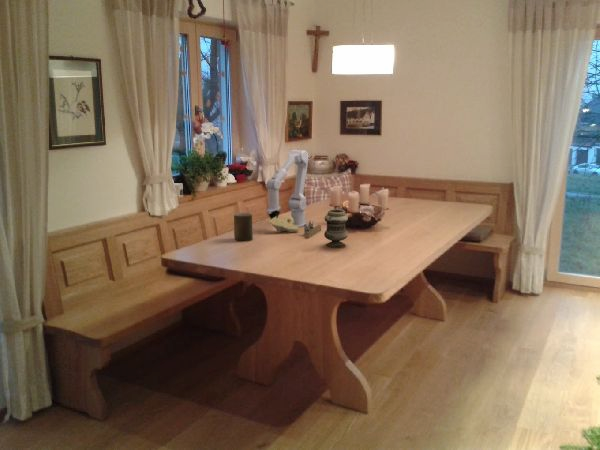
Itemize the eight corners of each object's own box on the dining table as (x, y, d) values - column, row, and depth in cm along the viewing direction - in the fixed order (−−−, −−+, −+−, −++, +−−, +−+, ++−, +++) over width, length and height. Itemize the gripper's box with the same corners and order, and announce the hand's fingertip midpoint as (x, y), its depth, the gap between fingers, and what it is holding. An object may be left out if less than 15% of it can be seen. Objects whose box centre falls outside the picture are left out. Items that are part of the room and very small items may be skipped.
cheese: (299, 232, 326) (280, 215, 329) (304, 225, 321) (284, 207, 323) (283, 246, 316) (263, 227, 318) (288, 238, 311) (268, 220, 313)
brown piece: (313, 229, 325) (313, 219, 323) (321, 230, 323) (321, 220, 322) (300, 237, 307) (300, 226, 305) (308, 238, 305) (308, 227, 304)
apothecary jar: (328, 249, 283) (328, 213, 279) (321, 243, 294) (321, 209, 290) (351, 247, 286) (351, 212, 282) (343, 241, 297) (343, 207, 293)
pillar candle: (249, 242, 298) (249, 213, 295) (231, 241, 300) (231, 213, 297) (254, 238, 307) (254, 210, 304) (237, 237, 309) (236, 209, 306)
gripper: (272, 197, 327) (273, 221, 330) (261, 202, 314) (262, 226, 317) (283, 198, 325) (284, 221, 327) (273, 202, 311) (273, 227, 314)
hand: (274, 224), depth 322 cm, fingers closed
